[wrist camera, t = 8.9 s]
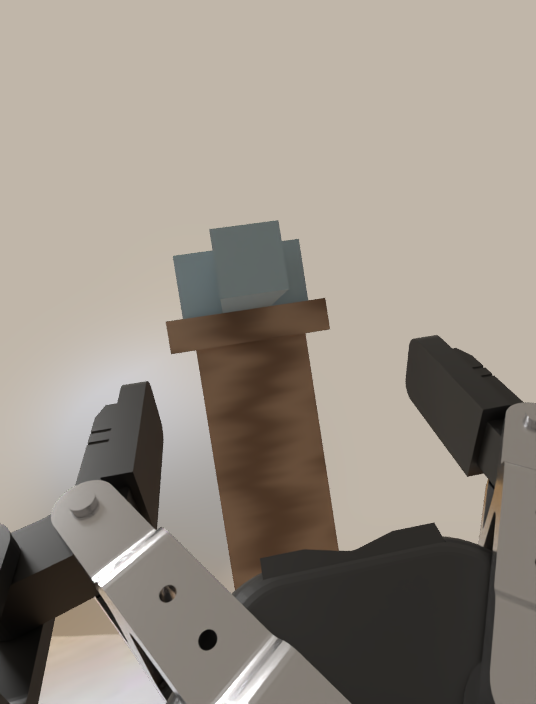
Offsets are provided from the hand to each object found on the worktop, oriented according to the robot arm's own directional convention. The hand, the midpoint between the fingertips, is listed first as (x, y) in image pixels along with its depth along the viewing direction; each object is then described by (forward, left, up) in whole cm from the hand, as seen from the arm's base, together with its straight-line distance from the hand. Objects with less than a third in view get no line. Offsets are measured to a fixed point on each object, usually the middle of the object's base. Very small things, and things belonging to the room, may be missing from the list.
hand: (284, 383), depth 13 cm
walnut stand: (0, -17, -27) cm, 32 cm away
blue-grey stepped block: (0, -13, +3) cm, 14 cm away
